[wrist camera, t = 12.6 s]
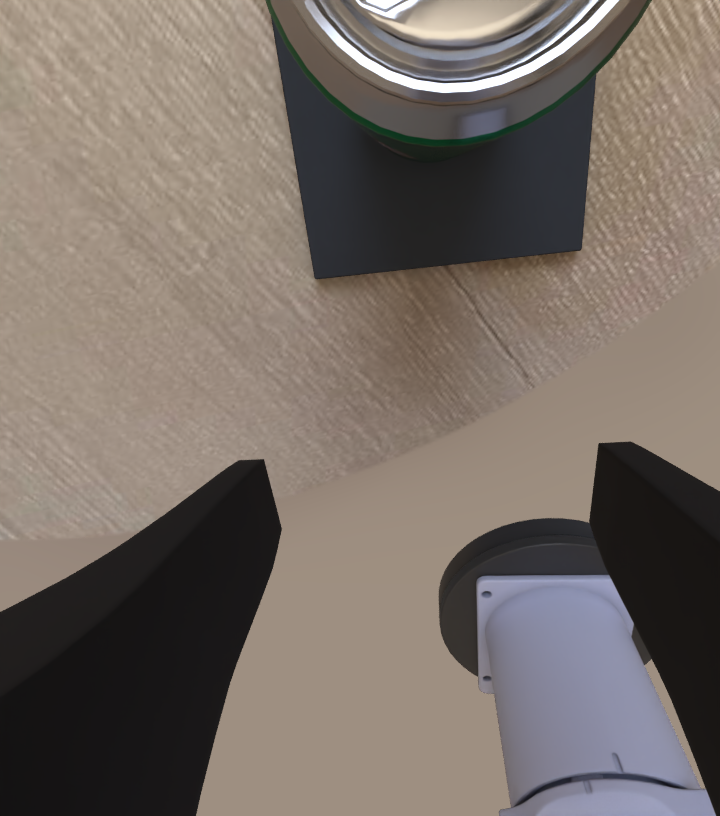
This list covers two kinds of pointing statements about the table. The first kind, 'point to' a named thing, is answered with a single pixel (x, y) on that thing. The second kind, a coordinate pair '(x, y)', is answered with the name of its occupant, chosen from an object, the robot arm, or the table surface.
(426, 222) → the mat
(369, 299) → the table surface
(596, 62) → the soda can
